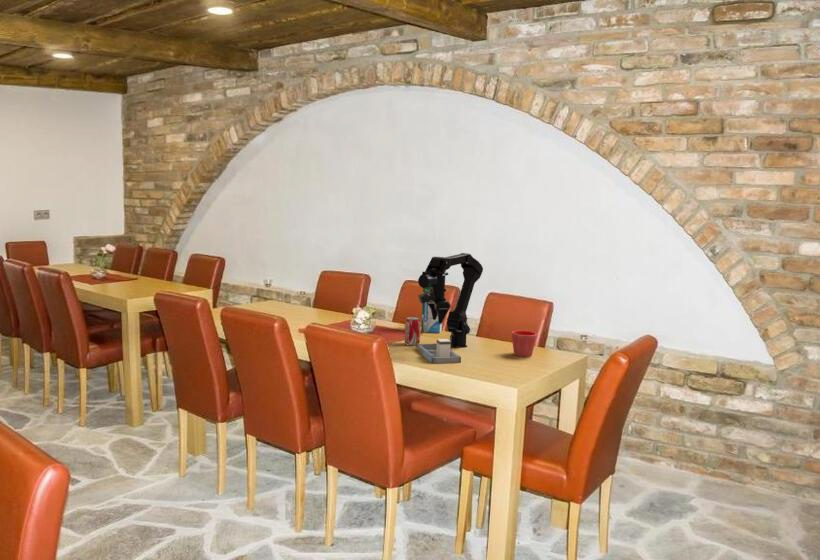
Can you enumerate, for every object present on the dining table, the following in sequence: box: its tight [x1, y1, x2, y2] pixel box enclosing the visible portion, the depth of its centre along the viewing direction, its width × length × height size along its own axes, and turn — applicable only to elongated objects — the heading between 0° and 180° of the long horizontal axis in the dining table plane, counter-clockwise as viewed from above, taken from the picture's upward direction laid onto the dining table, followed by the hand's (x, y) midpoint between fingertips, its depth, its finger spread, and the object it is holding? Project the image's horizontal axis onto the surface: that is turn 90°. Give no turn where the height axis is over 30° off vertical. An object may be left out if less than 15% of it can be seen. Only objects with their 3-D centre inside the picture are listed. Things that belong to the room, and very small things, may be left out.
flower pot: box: [511, 330, 537, 358], centre depth 301 cm, size 11×11×10 cm
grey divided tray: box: [416, 343, 462, 364], centre depth 296 cm, size 12×26×3 cm, turn 14°
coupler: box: [435, 338, 451, 357], centre depth 290 cm, size 5×5×8 cm
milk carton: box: [420, 287, 443, 334], centre depth 346 cm, size 9×9×25 cm
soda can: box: [404, 316, 422, 346], centre depth 316 cm, size 7×7×12 cm
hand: (437, 321), depth 302 cm, fingers open, 9 cm apart
